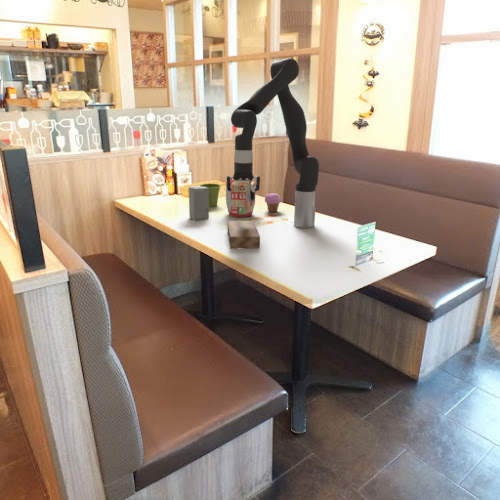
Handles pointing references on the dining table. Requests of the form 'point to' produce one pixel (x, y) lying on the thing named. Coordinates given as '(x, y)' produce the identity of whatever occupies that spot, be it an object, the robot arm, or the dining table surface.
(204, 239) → the dining table surface
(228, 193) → the citrus juicer
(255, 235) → the walnut block
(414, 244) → the dining table surface
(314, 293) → the dining table surface
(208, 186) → the plant pot
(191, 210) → the skincare box
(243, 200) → the stack of blocks
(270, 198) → the cupcake
